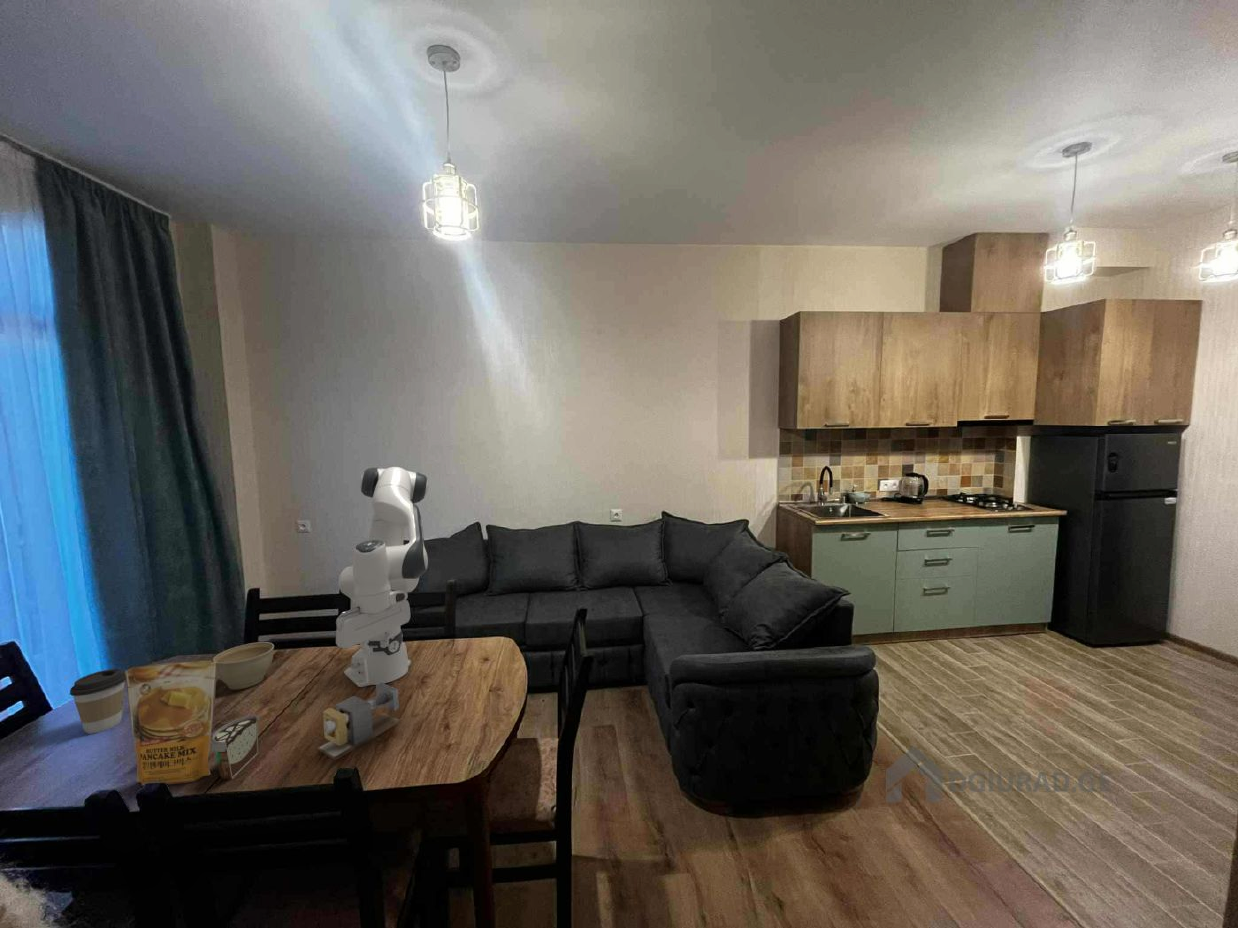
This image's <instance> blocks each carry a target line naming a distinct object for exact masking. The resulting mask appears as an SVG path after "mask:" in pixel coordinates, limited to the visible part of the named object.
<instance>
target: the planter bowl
mask: <svg viewBox="0 0 1238 928" xmlns="http://www.w3.org/2000/svg"><path fill="white" fill-rule="evenodd" d="M274 649H275V645H274V644H273V643H272V642H268V641H267V642H266V641H261V642H260V641H259V642H251V643H246V644H242V645H239V646H238V645H237V646H235V647H231V648H229V649H226V650H224V651H222V652H220V653H218V654H217V655H215V656H214V657H213V659H212V661H213V662H217V666H218V675H217V677H218V678H219V679H220V681H222V682H223V683H224V684H226V685H227V687H228V689H229V690H243V689H247V688H250V687H254V686H256V685H257V684H260V683H261V682H262V681H264V679H265V675H266V674H267V672H268V671H269V668H270V667H271V665H272V662H273V658H274Z"/></svg>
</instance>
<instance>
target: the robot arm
mask: <svg viewBox="0 0 1238 928" xmlns="http://www.w3.org/2000/svg"><path fill="white" fill-rule="evenodd" d="M429 486H430V485H429V481H428V477H427V475H426V474H425V473H424V474H423V473H420V472H414V471H410V470H406V469H405V468H402V467H398V466H391V467H388V468H378V467H370V468H369V467H368V468H367V469H365V470H364V472H363V473H362V474H361V476H360V479H359V487H360V492H361V494H362V495H363V496H365V497H368V498H370V499H371V498H372V501H371V502H372V510H373V511H374V513H373V515H372V521H371V525H370V530H369V536H368V540H366V541H363V542H360V543H358V544H356V545H355V547H354V550H353V556H352V565H350V566H346V567H345V568H344V569H343V570H342V571H341V572H340V574H339V577H338V588H339V590H340V592H341V593H342V594H343V595H345V596H347V597H348V598H349V599H350V600H351V601H353V603H354V607H353V608H351V609H349V610H345V611H342V612H341V613H340V614H339V616H338V617H337V618H336V619H335V620H336V621H335V624H336V632H335V644H336V646H337V647H339V648H341V649H345V650H347V649H349V648H353V647H354V646H356V645H360V648H359V650H357V651H356V652H355V653H354V654H353V655H352V657H351V662H350V666H349V667H348V668H346V669H345V670H344V674H343V675H345V676H346V678H348V679H349V680H351V682H353V683H354V684H355V685H356V686H357V687H359V688H365V687H367V686H368V687H369V686H373V685H374V686H376V685H377V684H379V683H384V684H386V683H391V682H394V681H396V680H398V679H400V678H402V677H404V676H405V675H406V674H407V673H408V671H409V666H410V665H411V664H412V661H411V659H408V653H407V647H406V643H405V642H404V639H403V637H404V635H403V630H402V629H401V626H403V625H405V624H407V623H409V621H410V619H411V607H410V603H409V601H408V600H407V599H408V593H411V592H413V590H415V589H416V588H417V585H418V583H419V580H420V577H421V576H423V574H424V573H425V572H427V569H428V566H429V565H428V564H429V558H428V552H427V549H426V547H425V538H424V530H423V523H422V517H421V512H420V508H419V506H418V505H417V503H419V502H422V500H424V499H425V497H426V495H427V494H428V491H429ZM406 528H407V529H408V538H409V539H408V541H409V542H408V543H406V544H404V542H405V541H404V540H405V531H406V530H405V529H406Z"/></svg>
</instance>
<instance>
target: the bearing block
mask: <svg viewBox="0 0 1238 928" xmlns="http://www.w3.org/2000/svg"><path fill="white" fill-rule="evenodd" d="M367 701H368V700H364V699H362V698H359V697H357V696H355V695H353V696H351V697H348V698H346V699H345V700H342V701H340V702H338V703H336V704H335V710H336V711H338V712H340V713H342V714H343V713H345V712H347V713H349V723H348V724H346V727H347V741H348V743H350V744H352V745H354V746H356V745H357V744H358V745H359V746H358V745H357V747H356V749H358V748H360V746H362V745H364V744H365V743H367V742H369V741H370V740H369V739H367V738H370V737H371V736H373V729H372V718H373V715H372V711H371V703H369V702H367ZM372 738H373V737H372ZM370 739H371V738H370ZM373 739H374V738H373ZM364 740H366V741H367V740H368V741H367V742H366V741H365V742H364ZM371 740H372V739H371ZM362 742H363V743H362ZM359 743H360V744H362V745H360V744H359Z"/></svg>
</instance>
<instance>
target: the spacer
mask: <svg viewBox="0 0 1238 928" xmlns="http://www.w3.org/2000/svg"><path fill="white" fill-rule="evenodd" d="M322 718H323V719H322V720H323V722H322V723H323V724H324V723H325V722H327V721H329V720H330V721H332V722H334V723H335V727H336V730H335V731H333V732H331V733H330V734H327V733H326V732H325V730H324V729H323V735H324V739H326V740H328V742H329V741H331V742H333V743H335V744H337V745H338V746H341V745H343V744H345V743H346V742H348V741H347V727H346V715H344V714H342V713H340V712H338V711H336V709H334V708H333V707H329V708H327V709H325V710H323V711H322Z"/></svg>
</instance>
